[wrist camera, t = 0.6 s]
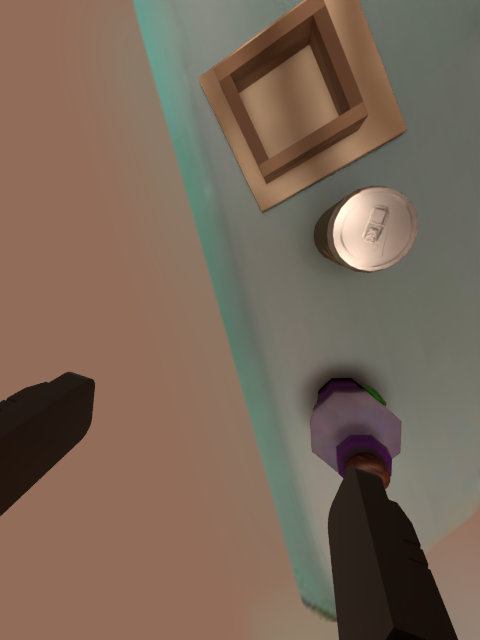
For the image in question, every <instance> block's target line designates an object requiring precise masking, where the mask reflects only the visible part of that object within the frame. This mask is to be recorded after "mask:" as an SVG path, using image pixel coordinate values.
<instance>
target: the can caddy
mask: <svg viewBox="0 0 480 640" xmlns="http://www.w3.org/2000/svg"><path fill="white" fill-rule="evenodd" d="M198 79H199V81H200V84H201V86H202V88H203V90H204V92H205V94H206V96H207V98H208V100H209V102H210V104H211V107H212V109H213V111H214V113H215V115H216V117H217V119H218V121H219V123H220V125H221V128H222V130H223V132H224V134H225V136H226V138H227V140H228V142H229V144H230V146H231V148H232V151H233V153H234V155H235V157H236V159H237V161H238V163H239V165H240V167H241V169H242V171H243V174H244V176H245V178H246V180H247V182H248V184H249V186H250V188H251V190H252V192H253V194H254V197H255V199H256V201H257V203H258V205H259V207H260V209H261V211H262V213H263V212H265V211H267V210H269V209H270V208H272V207H274V206H276V205H278V204H279V203H281V202H283V201H285V200H286V199H288V198H290V197H292V196H294V195H295V194H297V193H299V192H301V191H302V190H304V189H306V188H308V187H310V186H311V185H313V184H315V183H317V182H318V181H320V180H322V179H324V178H326V177H327V176H329V175H331V174H333V173H334V172H336V171H338V170H340V169H341V168H343V167H345V166H347V165H349V164H350V163H352V162H354V161H356V160H357V159H359V158H361V157H363V156H365V155H366V154H368V153H370V152H372V151H373V150H375V149H377V148H379V147H381V146H382V145H384V144H386V143H388V142H389V141H391V140H393V139H395V138H397V137H398V136H400V135H402V134H403V133H404V132H405V131H406V130H407V128H406V125H405V123H404V120H403V117H402V115H401V112H400V109H399V107H398V104H397V101H396V99H395V96H394V93H393V91H392V88H391V85H390V83H389V80H388V77H387V75H386V72H385V69H384V67H383V64H382V61H381V58H380V56H379V53H378V50H377V48H376V45H375V42H374V40H373V37H372V34H371V32H370V29H369V26H368V24H367V21H366V18H365V16H364V13H363V10H362V8H361V5H360V2H359V0H303V1H302V2H301V3H299V4H298V5H297V6H295V7H294V8H293V9H291V10H290V11H288V12H287V13H286V14H284V15H283V16H282V17H280V18H279V19H278V20H276V21H275V22H274V23H272V24H271V25H270V26H268V27H267V28H265V29H264V30H263V31H261V32H260V33H259V34H257V35H256V36H255V37H253V38H252V39H251V40H249V41H248V42H247V43H245V44H244V45H242V46H241V47H240V48H238V49H237V50H236V51H234V52H233V53H232V54H230V55H229V56H228V57H226V58H225V59H224V60H222V61H221V62H219V63H218V64H217V65H215V66H214V67H213V68H211V69H210V70H209V71H207V72H206V73H205V74H203V75H202V76H201V77H199V78H198Z"/></svg>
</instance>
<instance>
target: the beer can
mask: <svg viewBox="0 0 480 640" xmlns="http://www.w3.org/2000/svg"><path fill="white" fill-rule="evenodd" d="M417 229H418V222H417V213H416V211H415V209H414V207H413V205H412V203H411V201H409V200H408V199H407V198H406V197H405V196H404V195H403V194H402V193H400V192H398V191H395V190H393V189H391V188H387V187H380V186H370V187H366V188H362V189H358V190H356V191H355V192H353V193H351V194H350V195H348V196H346V197H345V198H343V199H342V200H341V201H339V202H338V203H337V204H335V205H334V206H333V207H331V208H330V209H329V210H327V211H326V212H325V213H324V214H323V215H322V216H321V217H320V218H319V220H318V222H317V224H316V227H315V232H314V239H315V245H316V246H317V248H318V250H319V252H320V253H321V254H322V255H323V256H324V257H325V258H328V259H330V260H332V261H334V262H336V263H338V264H340V265H342V266H344V267H346V268H348V269H351V270H353V271H355V272H365V273H370V272H375V271H380V270H383V269H385V268H387V267H389V266H391V265H393V264H395V263H397V262H398V261H399V260H400V259H401V258H402V257H403V256H405V255H406V254H407V253H408V251H409V250H410V248H411V246H412V244H413V243H414V241H415V238H416V234H417Z"/></svg>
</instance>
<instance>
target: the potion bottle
mask: <svg viewBox="0 0 480 640" xmlns="http://www.w3.org/2000/svg"><path fill="white" fill-rule="evenodd" d="M366 390H367V391H368V392H369V393H370V394H371V395H370V394H369V393H368V392H367V391H366ZM318 395H319V397H318V401H317V404H316V405H315V406H314V409H313V413H312V416H311V420H310V427H311V447H312V452H313V453H315V454H316V455H317V456H318V457H320V458H321V459H322V460H323V461H324V462H326V463H327V464H328V465H329V466H331V467H332V468H333V469H334V470H335V471H337V472H338V473H339V475H341V476H342V477H343V478H344V476H345V474H346V472H347V470H348V469H349V468H350V467H355V468H358V469H361V470H364V471H367V472H370V473H373V474H376V475H378V476H380V478H381V479H382V482H383V485H384V488H385V489H386V488H387V487H388V485H389V483H390V476H391V470H392V459H393V458H394V457H395V456H397V455H398V454H399V453H400V445H401V420H399V419H398V418H397V417H396V416H395V415H394V414H393V413H391V412H390V411H389V410H388V409H387V408H386V407H385V406H386V402H385V401H384V400H383V399H382V397H381V396H380V395H379V394H378V393H377V392H376V391H375V390H373V389H372V388H370V387H369V386H367V385H362V386H360V385H359V384H358V383H357V382H356V381H355V380H353V379H352V378H332V379H330V380H329V381H328V382H327V383H326V384H325V385H324V386H323V387H322V388H321V389H320V390H319V391H318ZM372 395H373V396H374V397H375V398H376V399H377V400H379V401H380V402H381V403H382V404H383V405H385V406H383V405H382V404H381V403H380V402H379V401H377V400H376V399H375V398H374V397H373V396H372Z"/></svg>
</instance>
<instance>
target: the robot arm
mask: <svg viewBox="0 0 480 640" xmlns="http://www.w3.org/2000/svg"><path fill="white" fill-rule="evenodd" d="M94 391H95V382H94V380H93V379H90V378H87V377H84V376H81V375H78V374H75V373H72V372H67V373H64V374H63V375H61V376H59V377H58V378H56V379H54V380H53V381H51V382H49V383H48V382H44V383H40V384H37V385H34V386H30V387H27V388H24V389H22V390H21V391H19V392H17V393H15V394H14V395H12V396H10V397H8V398H7V400H6V401H5V400H3V401H1V402H0V516H1V515H2V514H3V513H4V512H5V511H7V510H8V509H9V508H10V507H11V506H12V505H13V504H14V503H15V502H16V501H17V500H18V499H19V498H20V497H21V496H22V495H23V494H24V493H26V492H27V491H28V490H29V489H30V488H31V487H32V486H33V485H34V484H35V483H36V482H37V481H38V480H39V479H40V478H41V477H43V475H45V473H46V472H48V471H49V470H50V469H51V468H52V467H53V466H54V465H55V464H56V463H57V462H58V461H60V460H61V459H62V458H63V457H64V456H65V455H66V454H67V453H68V452H69V451H70V450H71V449H72V448H73V447H74V446H75V445H76V444H78V443H79V442H80V441H81V440H82V438H83V437H84V436H85V434H86V433H87V431H88V429H89V427H90V424H91V421H92V412H93V401H94ZM328 535H329V545H330V555H331V565H332V574H333V584H334V594H335V604H336V614H337V623H338V633H339V640H458V638H457V636H456V633H455V631H454V628H453V626H452V623H451V620H450V618H449V615H448V613H447V611H446V608H445V605H444V603H443V600H442V598H441V595H440V593H439V590H438V588H437V586H436V583H435V580H434V578H433V575H432V573H431V570H429V569H428V563H427V560H426V557H425V555H424V552H423V550H421V549H420V546H421V545H420V542H419V540H418V537H417V535H416V532H415V530H414V527H413V525H412V523H411V521H410V520H409V519H408V517H407V516H406V514H405V513H404V512H403V510H402V509H401V508H400V506H399V505H398V503H397V502H394V501H391V500H389V499H388V497H387V494H386V491H385V488H384V485H383V482H382V479H381V478H380V476H378V475H376V474H373V473H370V472H367V471H364V470H361V469H358V468H355V467H350V468H349V469H348V470H347V472H346V474H345V476H344V478H343V481H342V483H341V485H340V487H339V489H338V492H337V494H336V496H335V498H334V500H333V503H332V505H331V508H330V512H329V518H328Z"/></svg>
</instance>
